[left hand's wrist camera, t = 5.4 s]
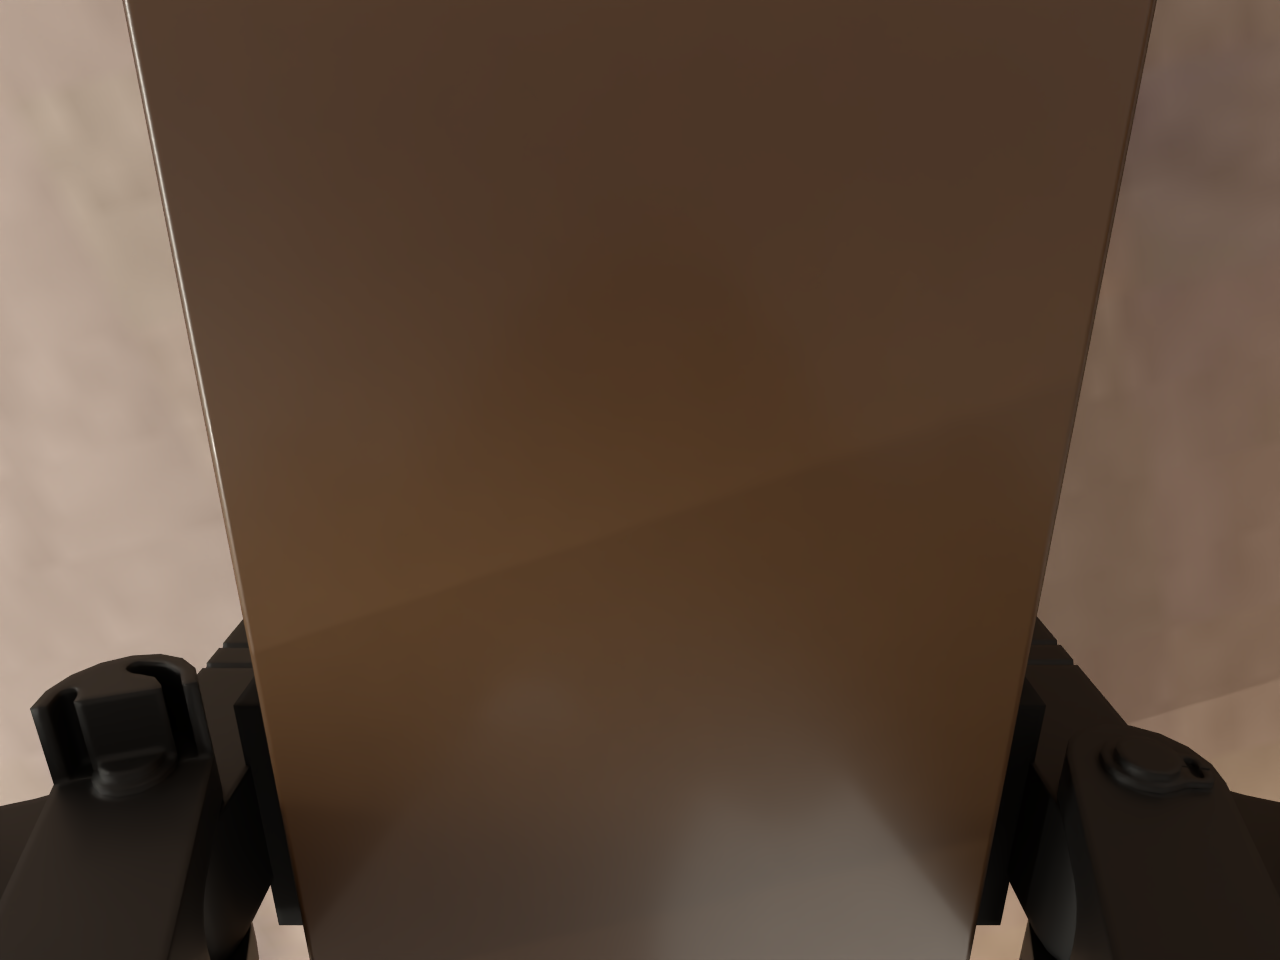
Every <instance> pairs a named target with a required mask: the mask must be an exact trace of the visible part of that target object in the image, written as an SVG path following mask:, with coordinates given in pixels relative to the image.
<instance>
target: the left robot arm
mask: <svg viewBox="0 0 1280 960" xmlns="http://www.w3.org/2000/svg"><path fill="white" fill-rule="evenodd" d="M30 710H31V713H32V716H33V719H34V723H35V726H36V729H37V732H38V735H39V739H40V742H41V745H42V748H43V751H44V754H45V758H46V761H47V764H48V767H49V770H50V774H51V777H52V780H53V783H54V786H53V788H52V790H51V792H50V794H49V795H47V796H44V797H40V798H36V799H32V800H27V801H23V802H18V803H13V804H8V805H4V806H0V960H259V955H258V948H257V941H256V936H255V932H254V927H253V923H252V921H253V919H254V917H255V915H256V913H257V911H258V909H259V907H260V905H261V903H262V901H263V899H264V897H265V895H266V893H267V891H268V889H269V887H270V885H271V889H272V893H273V898H274V903H275V908H276V913H277V917H278V922H279V925H303V922H302V917H301V912H300V907H299V901H298V896H297V891H296V886H295V881H294V876H293V871H292V866H291V861H290V855H289V850H288V845H287V840H286V835H285V830H284V825H283V820H282V814H281V809H280V804H279V799H278V794H277V789H276V784H275V779H274V774H273V768H272V763H271V758H270V753H269V748H268V743H267V738H266V733H265V727H264V722H263V717H262V712H261V707H260V702H259V697H258V692H257V687H256V681H255V676H254V671H253V666H252V661H251V656H250V651H249V646H248V640H247V635H246V630H245V625H244V620H242V621H241V622H240V624H239V625H238V626H237V627H236V628H235V630H234V631H233V632H232V633H231V634H230V636H229V637H228V638H227V639H226V640H225V642H224V643H223V648H219V649H218V650H217V651H216V653H215V654H214V655H213V656H212V657H211V659H210V660H209V661H208V662H207V667H206V668H202V669H201V671H200V672H199V673H198V674H197V673H196V669H195V667H193V666H192V665H191V664H189V663H188V662H187V661H185V660H184V659H183V658H178V657H173V656H168V655H163V654H152V655H135V656H129V657H124V658H120V659H116V660H112V661H107V662H103V663H100V664H97V665H95V666H92V667H90V668H88V669H85V670H83V671H80V672H78V673H75V674H73V675H71V676H69V677H67V678H66V679H64V680H63V681H61V682H60V683H58V684H56V685H55V686H53V687H52V688H50V689H49V690H47V691H46V692H45V693H44V694H43V695H42V696H41V697H40V698H39V699H38V700H37V702H36V703H35V704H34V705H33V706H32V707H31V708H30ZM1009 882H1010V884H1011V886H1012V888H1013V890H1014V892H1015V894H1016V896H1017V898H1018V900H1019V902H1020V904H1021V906H1022V908H1023V910H1024V912H1025V914H1026V916H1027V918H1028V923H1027V927H1026V932H1025V936H1024V941H1023V945H1022V950H1021V954H1020V958H1019V960H1280V802H1275V801H1271V800H1266V799H1261V798H1256V797H1251V796H1247V795H1243V794H1239V793H1235V792H1232V791H1230V790H1229V788H1228V786H1227V784H1226V782H1225V781H1224V780H1223V779H1222V777H1221V776H1220V775H1219V773H1218V772H1217V771H1216V769H1215V768H1214V767H1213V765H1212V764H1211V763H1209V762H1208V761H1206V760H1205V759H1204V758H1202V757H1201V756H1200V755H1198V754H1197V753H1196V752H1194V751H1193V750H1192V749H1190V748H1189V747H1187V746H1185V745H1183V744H1181V743H1179V742H1176V741H1174V740H1172V739H1170V738H1168V737H1166V736H1164V735H1161V734H1159V733H1155V732H1152V731H1148V730H1144V729H1140V728H1137V727H1133V726H1128V725H1127V724H1126V722H1125V721H1124V720H1123V719H1122V718H1121V716H1120V715H1119V714H1118V713H1117V712H1116V710H1115V709H1114V708H1113V707H1112V706H1111V705H1110V703H1109V702H1108V701H1107V700H1106V699H1105V697H1104V696H1103V695H1102V694H1101V693H1100V691H1099V690H1098V689H1097V688H1096V687H1095V685H1094V684H1093V683H1092V682H1091V681H1090V679H1089V678H1088V677H1087V676H1086V675H1085V673H1084V672H1083V671H1082V670H1081V669H1080V667H1079V666H1078V665H1074V664H1073V659H1072V658H1071V657H1070V655H1069V654H1068V653H1067V652H1066V651H1065V650H1064V648H1063V647H1062V646H1061V645H1057V640H1056V639H1055V638H1054V636H1053V635H1052V634H1051V633H1050V632H1049V630H1048V629H1047V628H1046V627H1045V626H1044V624H1043V623H1042V622H1041V621H1040V620H1039V618H1038V617H1037V616H1036V621H1035V626H1034V632H1033V637H1032V642H1031V647H1030V652H1029V657H1028V662H1027V667H1026V673H1025V678H1024V683H1023V688H1022V693H1021V698H1020V703H1019V709H1018V714H1017V719H1016V724H1015V729H1014V734H1013V739H1012V744H1011V750H1010V755H1009V760H1008V765H1007V770H1006V775H1005V780H1004V785H1003V791H1002V796H1001V801H1000V806H999V811H998V816H997V821H996V826H995V832H994V837H993V842H992V847H991V852H990V857H989V862H988V867H987V873H986V878H985V883H984V888H983V893H982V898H981V903H980V908H979V914H978V919H977V924H976V925H1000V924H1001V919H1002V915H1003V910H1004V905H1005V900H1006V895H1007V891H1008V886H1009Z"/></svg>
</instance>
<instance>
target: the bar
mask: <svg viewBox="0 0 1280 960" xmlns="http://www.w3.org/2000/svg"><path fill="white" fill-rule="evenodd" d="M122 1H123V6H124V11H125V16H126V21H127V26H128V31H129V37H130V42H131V47H132V52H133V57H134V62H135V67H136V72H137V78H138V83H139V88H140V93H141V98H142V103H143V108H144V113H145V118H146V124H147V129H148V134H149V139H150V144H151V149H152V154H153V159H154V165H155V170H156V175H157V180H158V185H159V190H160V195H161V200H162V205H163V211H164V216H165V221H166V226H167V231H168V236H169V241H170V246H171V252H172V257H173V262H174V267H175V272H176V277H177V282H178V287H179V292H180V298H181V303H182V308H183V313H184V318H185V323H186V328H187V333H188V339H189V344H190V349H191V354H192V359H193V364H194V369H195V374H196V379H197V385H198V390H199V395H200V400H201V405H202V410H203V415H204V420H205V426H206V431H207V436H208V441H209V446H210V451H211V456H212V461H213V466H214V472H215V477H216V482H217V487H218V492H219V497H220V502H221V507H222V513H223V518H224V523H225V528H226V533H227V538H228V543H229V548H230V553H231V559H232V564H233V569H234V574H235V579H236V584H237V589H238V594H239V600H240V605H241V610H242V615H243V620H244V625H245V630H246V635H247V640H248V646H249V651H250V656H251V661H252V666H253V671H254V676H255V681H256V687H257V692H258V697H259V702H260V707H261V712H262V717H263V722H264V727H265V733H266V738H267V743H268V748H269V753H270V758H271V763H272V768H273V774H274V779H275V784H276V789H277V794H278V799H279V804H280V809H281V814H282V820H283V825H284V830H285V835H286V840H287V845H288V850H289V855H290V861H291V866H292V871H293V876H294V881H295V886H296V891H297V896H298V901H299V907H300V912H301V917H302V922H303V927H304V932H305V937H306V942H307V948H308V953H309V958H310V960H970V955H971V949H972V944H973V939H974V934H975V929H976V924H977V919H978V914H979V908H980V903H981V898H982V893H983V888H984V883H985V878H986V873H987V867H988V862H989V857H990V852H991V847H992V842H993V837H994V832H995V826H996V821H997V816H998V811H999V806H1000V801H1001V796H1002V791H1003V785H1004V780H1005V775H1006V770H1007V765H1008V760H1009V755H1010V750H1011V744H1012V739H1013V734H1014V729H1015V724H1016V719H1017V714H1018V709H1019V703H1020V698H1021V693H1022V688H1023V683H1024V678H1025V673H1026V667H1027V662H1028V657H1029V652H1030V647H1031V642H1032V637H1033V632H1034V626H1035V621H1036V616H1037V611H1038V606H1039V601H1040V596H1041V591H1042V585H1043V580H1044V575H1045V570H1046V565H1047V560H1048V555H1049V550H1050V544H1051V539H1052V534H1053V529H1054V524H1055V519H1056V514H1057V509H1058V503H1059V498H1060V493H1061V488H1062V483H1063V478H1064V473H1065V468H1066V462H1067V457H1068V452H1069V447H1070V442H1071V437H1072V432H1073V427H1074V421H1075V416H1076V411H1077V406H1078V401H1079V396H1080V391H1081V385H1082V380H1083V375H1084V370H1085V365H1086V360H1087V355H1088V350H1089V344H1090V339H1091V334H1092V329H1093V324H1094V319H1095V314H1096V309H1097V303H1098V298H1099V293H1100V288H1101V283H1102V278H1103V273H1104V268H1105V262H1106V257H1107V252H1108V247H1109V242H1110V237H1111V232H1112V227H1113V221H1114V216H1115V211H1116V206H1117V201H1118V196H1119V191H1120V186H1121V180H1122V175H1123V170H1124V165H1125V160H1126V155H1127V150H1128V145H1129V139H1130V134H1131V129H1132V124H1133V119H1134V114H1135V109H1136V103H1137V98H1138V93H1139V88H1140V83H1141V78H1142V73H1143V68H1144V62H1145V57H1146V52H1147V47H1148V42H1149V37H1150V32H1151V27H1152V21H1153V16H1154V11H1155V6H1156V1H1157V0H122Z"/></svg>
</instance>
